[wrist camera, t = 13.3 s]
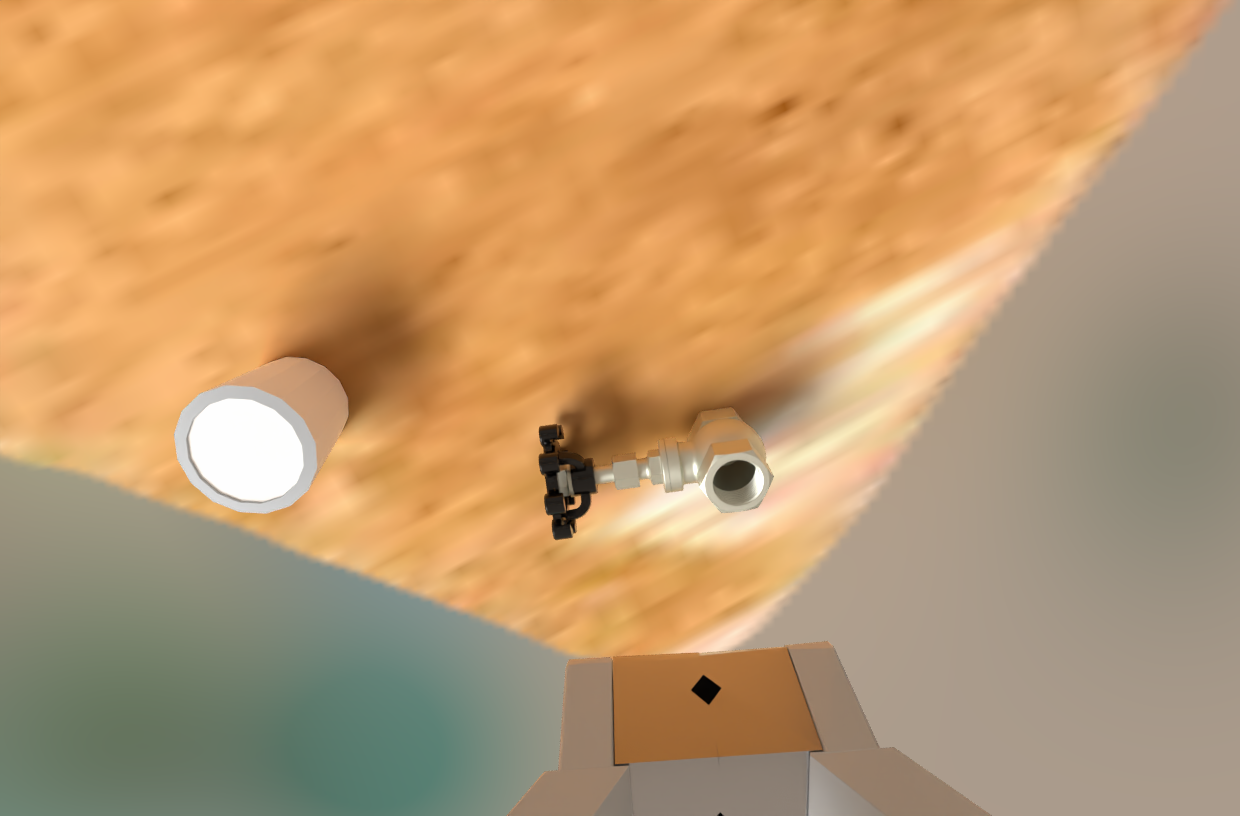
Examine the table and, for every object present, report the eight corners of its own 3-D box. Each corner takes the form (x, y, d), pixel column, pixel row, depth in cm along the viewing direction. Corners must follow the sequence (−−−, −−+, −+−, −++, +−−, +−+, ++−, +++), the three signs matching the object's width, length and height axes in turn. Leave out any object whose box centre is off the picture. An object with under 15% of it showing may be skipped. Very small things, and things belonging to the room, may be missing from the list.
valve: (748, 376, 43) (543, 406, 44) (773, 417, 37) (533, 451, 38) (758, 479, 46) (562, 507, 46) (782, 533, 40) (556, 565, 40)
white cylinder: (382, 393, 43) (343, 440, 37) (321, 479, 45) (272, 539, 38) (276, 321, 42) (214, 357, 35) (216, 413, 43) (147, 464, 37)
